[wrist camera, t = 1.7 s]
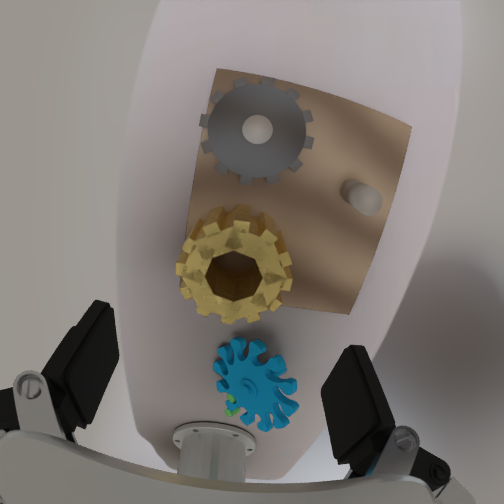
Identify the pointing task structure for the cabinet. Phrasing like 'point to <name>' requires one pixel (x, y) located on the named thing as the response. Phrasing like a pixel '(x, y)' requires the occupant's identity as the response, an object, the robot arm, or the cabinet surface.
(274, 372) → the gear
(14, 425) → the robot arm
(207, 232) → the brass gear
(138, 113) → the cabinet surface
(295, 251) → the gear board
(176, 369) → the cabinet surface
